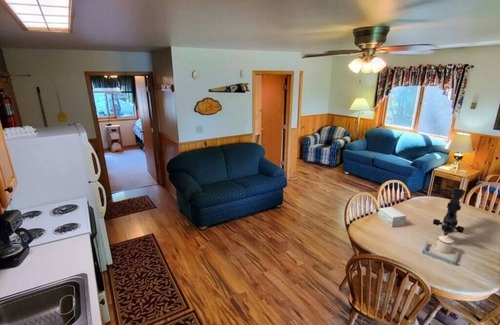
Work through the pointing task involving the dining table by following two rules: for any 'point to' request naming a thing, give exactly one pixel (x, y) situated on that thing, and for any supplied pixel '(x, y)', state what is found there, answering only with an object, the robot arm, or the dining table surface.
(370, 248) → the dining table surface
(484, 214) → the dining table surface
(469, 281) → the dining table surface
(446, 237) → the teacup with lid
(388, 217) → the supplement box
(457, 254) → the dock
